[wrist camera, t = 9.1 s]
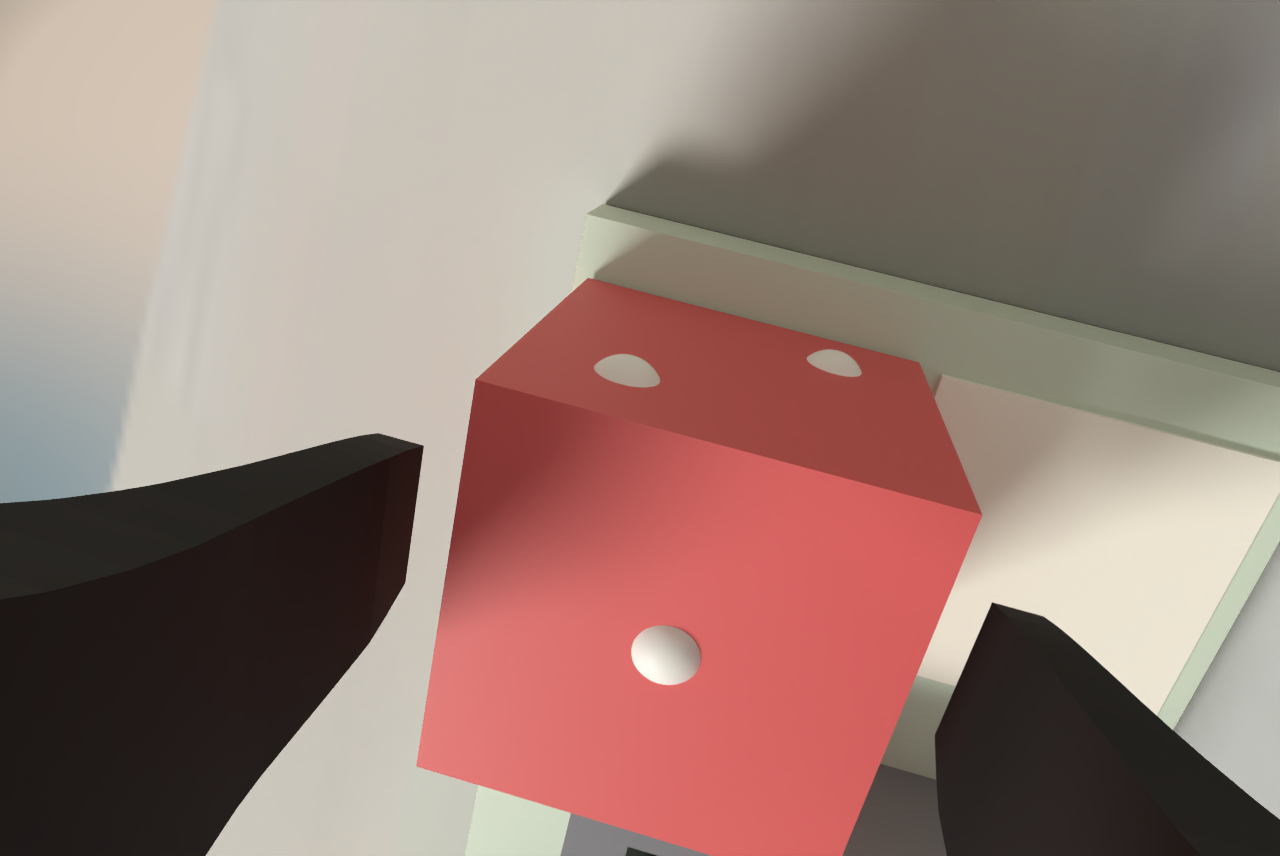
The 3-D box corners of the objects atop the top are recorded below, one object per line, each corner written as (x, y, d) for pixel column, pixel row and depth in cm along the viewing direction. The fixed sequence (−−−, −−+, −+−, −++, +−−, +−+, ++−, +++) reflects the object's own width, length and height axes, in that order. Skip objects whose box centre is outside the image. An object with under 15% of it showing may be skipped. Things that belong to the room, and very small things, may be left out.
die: (817, 651, 15) (823, 917, 10) (530, 571, 15) (407, 791, 11) (923, 349, 13) (993, 505, 8) (589, 265, 13) (471, 365, 9)
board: (954, 1043, 19) (964, 1107, 18) (468, 892, 20) (447, 942, 19) (1310, 379, 14) (1360, 408, 12) (603, 203, 14) (584, 215, 13)
